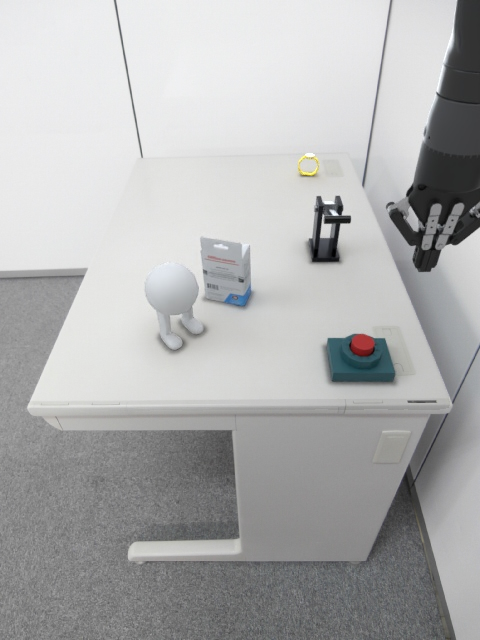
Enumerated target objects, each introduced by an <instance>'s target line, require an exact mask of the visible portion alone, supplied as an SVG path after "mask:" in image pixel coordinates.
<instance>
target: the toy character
mask: <svg viewBox="0 0 480 640" xmlns="http://www.w3.org/2000/svg"><path fill="white" fill-rule="evenodd" d="M199 289H200V287H199V283H198V281H197V277H196V275H195V273H194V272H193V271H192V270H190V269H189V267H187V266H186V265H185V264H183V263H180V262H177V261H167V262H164V263H161V264H157V265H156V266H155V267H153V268H152V269H151V270H150V271H149V272H148V274H147V276H146V278H145V281H144V295H145V297H146V300H147V303H148V304H149V305H150V307H152V309H153V310H155V312H156V316H157V320H158V325H159V326H158V327H159V336H160V339H161V340H162V341H163V343H164V344H165V345H166V346H167V347H168V348H169V349H170V350H172V351H176V350H179V349H181V348H182V346H183V344H184V343H183V340H182V337H179V336H178V335H177V334H176V333H174V331H172V325H171V323H172V322H171V317H170V316H180V315H181V323H182V325H183V326H184V327H185V328H186V329H187V331H188V332H189V333H191V334H192V335H200V334H201V333H203V332H204V329H205V328H204V324H203V323H202V322H201V321H199V320H198V319H197V318H195V316H194V308H193V306H194V305H195V304H196V302H197V299H198V296H199V291H200V290H199Z"/></svg>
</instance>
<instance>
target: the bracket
mask: <svg viewBox="0 0 480 640" xmlns="http://www.w3.org/2000/svg"><path fill="white" fill-rule="evenodd" d="M333 202H334V203H335V211H336V212H337V214H338V215H343V212H344V204H343V201H342V198H341V195H334V201H333ZM323 208H324V205H323V198H322V195H316V196H315V205H313V212H314V216H313V227H312V236H311V237H309V238H308V242H307V243H308V249H309V253H310V259H311V263H340V258H341V257H340V253H339V250H338V243H339V236H340V229H341V224H330V225H331V226H330V232H329V233H330V234H329V237H321V232H322V223H323V218H324V215H323Z"/></svg>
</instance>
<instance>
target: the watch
mask: <svg viewBox="0 0 480 640" xmlns="http://www.w3.org/2000/svg"><path fill="white" fill-rule="evenodd" d="M306 159H307V160H314V161H315V162H316V164H317V166H316V168H315V170H314V171H313V172H306V171H303V170H302V169H301V166H300V165H301V162H303V160H306ZM297 169H298V172H299V173H300V174H301V175H302V176H303V175H304V176H309V177H310V176H311V177H312V176H314V175H316V174H317V173H318V171H319V169H320V162H319V159H318V157H316V155H315V154H314V153H311V152H307V153H305V154H304V155H303V156H301V158H300V159H299V160H298V164H297Z"/></svg>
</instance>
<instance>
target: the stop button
mask: <svg viewBox="0 0 480 640" xmlns="http://www.w3.org/2000/svg"><path fill="white" fill-rule="evenodd" d="M357 334H358V335H356V336H354V337H353V339H352V343H351V351H352V352H353V353H354V354H355V355H358V356H360V357H367V356H369V355H371V354H372V352H373V348H374V340H373V339H372V338H371V337H372V336H371V335H368V334H366V335H364V334H365V333H357ZM370 336H371V337H370Z"/></svg>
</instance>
